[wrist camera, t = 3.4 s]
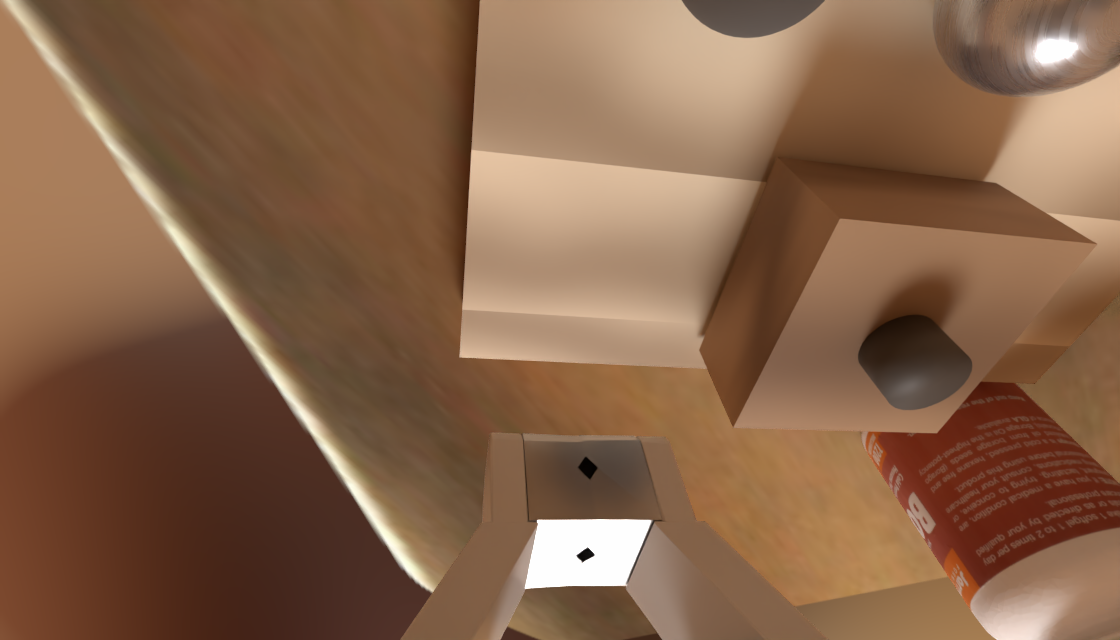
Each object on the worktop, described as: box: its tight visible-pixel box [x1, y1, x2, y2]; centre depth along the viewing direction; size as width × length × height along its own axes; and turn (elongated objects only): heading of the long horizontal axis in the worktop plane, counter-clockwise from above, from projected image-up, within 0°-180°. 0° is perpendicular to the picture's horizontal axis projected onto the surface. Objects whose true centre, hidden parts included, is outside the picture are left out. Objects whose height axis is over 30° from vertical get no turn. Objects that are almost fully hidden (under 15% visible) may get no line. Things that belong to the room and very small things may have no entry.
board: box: [460, 0, 1120, 384], centre depth 13 cm, size 20×20×2 cm
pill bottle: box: [862, 381, 1120, 640], centre depth 20 cm, size 6×6×11 cm
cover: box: [699, 157, 1097, 433], centre depth 14 cm, size 6×6×4 cm
